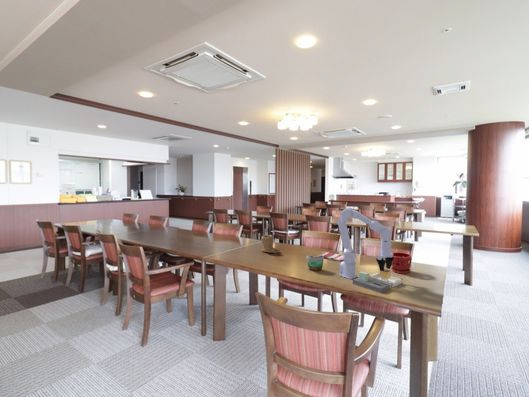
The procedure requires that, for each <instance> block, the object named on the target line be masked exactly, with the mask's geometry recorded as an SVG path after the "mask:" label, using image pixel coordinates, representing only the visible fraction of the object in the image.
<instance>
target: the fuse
mask: <svg viewBox="0 0 529 397" xmlns="http://www.w3.org/2000/svg"><path fill="white" fill-rule="evenodd" d="M369 276H370V272H366V271H362V270H361V271H359V272H358V278H359V280H362V281H365V282H367V281H369Z"/></svg>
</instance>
